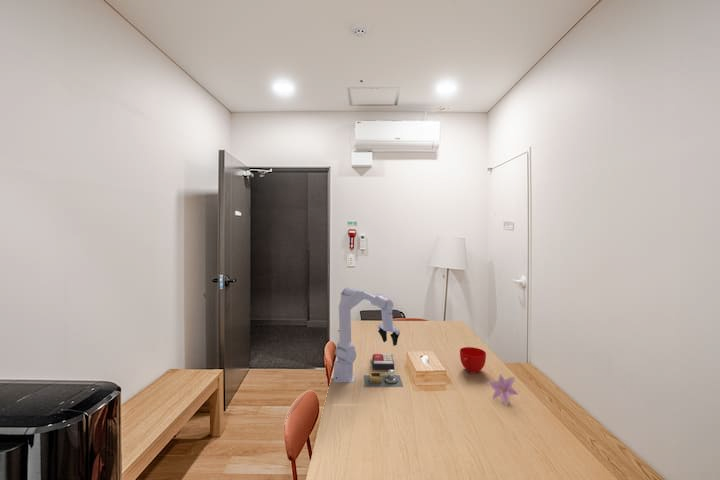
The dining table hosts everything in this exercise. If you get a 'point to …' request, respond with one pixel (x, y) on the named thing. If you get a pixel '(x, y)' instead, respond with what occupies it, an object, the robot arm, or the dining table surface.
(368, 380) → the mat
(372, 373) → the bronze square frame
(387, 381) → the silver disc with post
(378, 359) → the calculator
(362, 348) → the dining table surface
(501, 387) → the lily
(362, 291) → the robot arm
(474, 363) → the ceramic cup
